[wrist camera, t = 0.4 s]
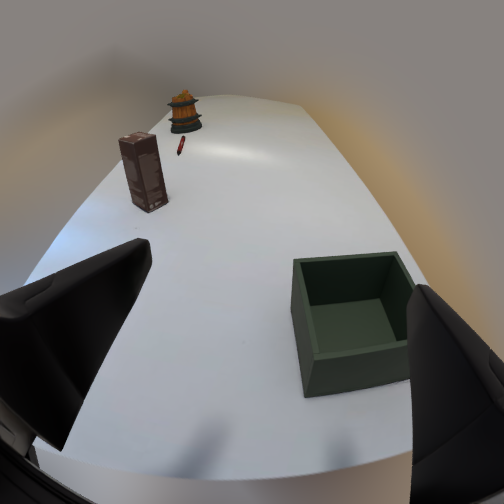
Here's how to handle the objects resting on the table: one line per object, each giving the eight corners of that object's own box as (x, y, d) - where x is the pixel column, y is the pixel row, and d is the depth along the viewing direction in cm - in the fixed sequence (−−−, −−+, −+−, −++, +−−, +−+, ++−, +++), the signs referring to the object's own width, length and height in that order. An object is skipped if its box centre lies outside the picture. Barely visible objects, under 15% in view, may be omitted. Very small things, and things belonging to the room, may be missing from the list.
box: (170, 201, 48) (156, 133, 41) (148, 213, 46) (130, 143, 38) (152, 192, 52) (139, 130, 44) (131, 203, 49) (115, 139, 41)
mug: (201, 131, 80) (197, 93, 72) (167, 135, 79) (161, 98, 72) (204, 120, 90) (201, 87, 82) (174, 124, 89) (169, 91, 82)
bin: (411, 378, 22) (441, 337, 18) (304, 398, 22) (314, 360, 18) (380, 298, 30) (396, 251, 26) (290, 307, 30) (293, 258, 26)
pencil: (176, 157, 65) (175, 153, 64) (182, 139, 76) (181, 135, 75) (180, 156, 65) (179, 152, 65) (185, 138, 76) (184, 135, 75)
